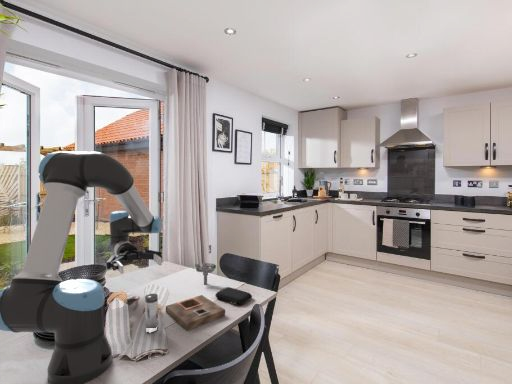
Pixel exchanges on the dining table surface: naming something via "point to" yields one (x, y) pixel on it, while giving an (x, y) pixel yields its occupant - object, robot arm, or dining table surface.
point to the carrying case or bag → (233, 296)
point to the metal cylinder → (151, 311)
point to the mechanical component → (205, 269)
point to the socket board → (194, 312)
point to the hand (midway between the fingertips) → (142, 265)
